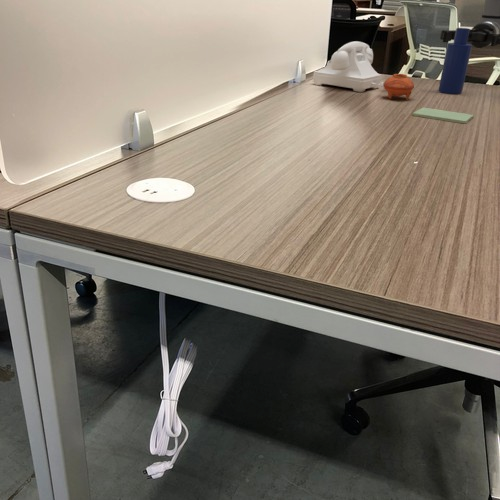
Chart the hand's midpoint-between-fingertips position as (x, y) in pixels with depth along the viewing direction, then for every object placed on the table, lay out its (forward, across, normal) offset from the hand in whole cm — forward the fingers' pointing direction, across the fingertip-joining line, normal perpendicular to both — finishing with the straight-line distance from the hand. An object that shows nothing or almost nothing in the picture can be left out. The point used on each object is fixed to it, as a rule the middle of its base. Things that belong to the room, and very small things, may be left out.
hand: (468, 39), depth 148 cm
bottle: (+10, 0, -14) cm, 17 cm away
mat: (+44, -7, -14) cm, 46 cm away
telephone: (+20, +25, -14) cm, 35 cm away
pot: (+30, +9, -14) cm, 34 cm away
